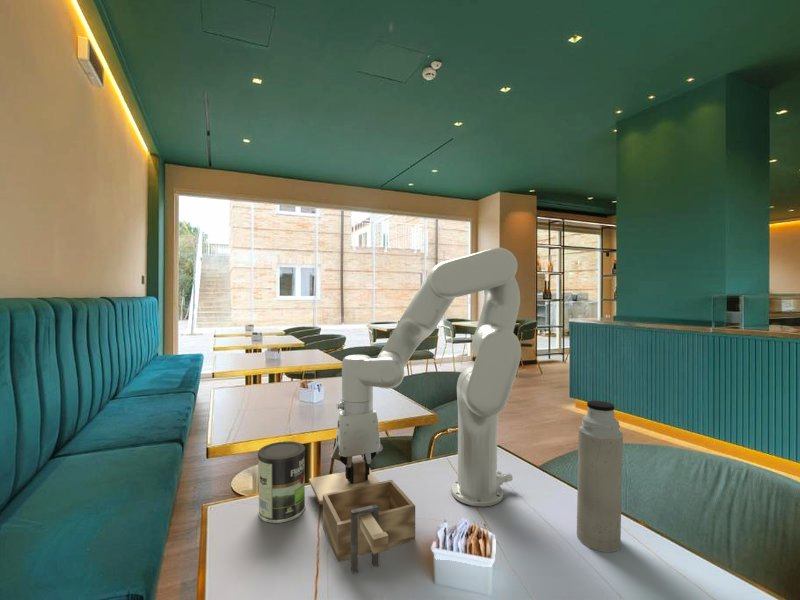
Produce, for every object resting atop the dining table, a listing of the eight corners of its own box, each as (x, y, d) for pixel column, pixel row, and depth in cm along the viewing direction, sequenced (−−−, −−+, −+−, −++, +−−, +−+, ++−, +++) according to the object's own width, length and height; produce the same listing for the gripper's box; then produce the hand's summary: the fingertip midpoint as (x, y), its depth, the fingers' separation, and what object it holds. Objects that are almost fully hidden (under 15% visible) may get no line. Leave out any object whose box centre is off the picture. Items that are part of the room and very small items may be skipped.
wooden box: (391, 509, 92) (392, 462, 92) (424, 551, 78) (424, 495, 77) (322, 526, 86) (322, 475, 85) (344, 576, 71) (344, 515, 71)
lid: (367, 474, 106) (367, 448, 106) (383, 494, 96) (383, 466, 96) (309, 486, 100) (309, 458, 100) (319, 509, 90) (319, 478, 89)
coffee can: (312, 500, 96) (312, 442, 95) (292, 526, 86) (292, 461, 85) (273, 496, 98) (272, 439, 97) (248, 520, 88) (248, 456, 87)
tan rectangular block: (369, 521, 74) (369, 508, 74) (388, 549, 66) (388, 535, 66) (356, 524, 73) (356, 511, 73) (373, 554, 65) (373, 539, 65)
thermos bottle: (602, 525, 86) (605, 396, 85) (629, 550, 78) (633, 407, 77) (568, 529, 85) (571, 398, 84) (592, 554, 77) (595, 409, 76)
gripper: (328, 414, 92) (328, 493, 92) (394, 406, 98) (394, 479, 99) (320, 405, 99) (321, 479, 99) (382, 398, 105) (382, 467, 106)
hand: (357, 478), depth 99 cm, fingers closed on lid, 3 cm apart
